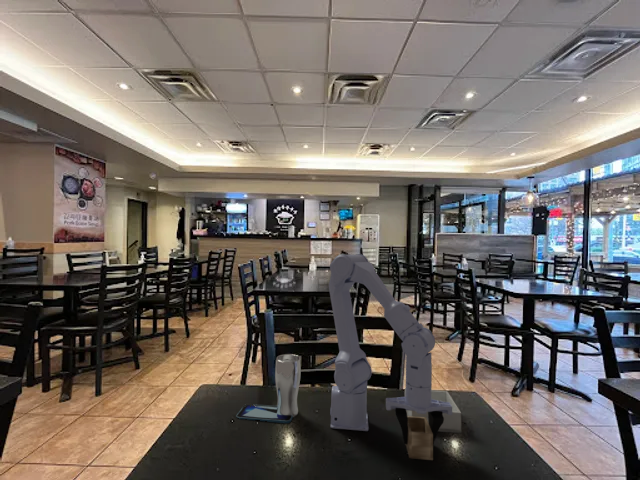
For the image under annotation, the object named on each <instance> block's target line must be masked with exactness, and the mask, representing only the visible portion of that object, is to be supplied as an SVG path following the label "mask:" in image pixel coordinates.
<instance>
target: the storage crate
mask: <svg viewBox="0 0 640 480" xmlns="http://www.w3.org/2000/svg"><path fill="white" fill-rule="evenodd" d="M405 392H406V387H405V388H404V393H405ZM431 399H433V400H438V401H443V402H450V404H451V405H452V415H448V414H447V413H443V417H444V422H443V424H442V425H441V427H440V428H439V430H438V432H443V433H454V434H462V412H461V410H460V408H459V407H458V406H457V404H456V403H455V401H454V399H453V397H452V396H451V395H450V393H449V391H447V390H433V389H432V394H431ZM406 412H407V416H415V417H426V419H427V421H428V412H426V414H418V413H417V412H416V411H411V410H406ZM428 424H429V422H428Z"/></svg>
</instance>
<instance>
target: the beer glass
mask: <svg viewBox="0 0 640 480" xmlns="http://www.w3.org/2000/svg"><path fill="white" fill-rule="evenodd" d="M274 370H275V372H274V376H275V378H274V381H275V386H276V387H275V388H276V394H277V404H276V406H277V409H276V413H277V414H278V415H280V416H292V415H293V418H295V417H297V415H298V414H299V407H298V393H299V389H300V388H299V387H300V384H301V383H300V381H301V372H302V370H301V357H300V356H299V355H296V354H293V353H285V354H280V355H278V356H277V357H276V362H275V369H274Z"/></svg>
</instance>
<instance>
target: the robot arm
mask: <svg viewBox="0 0 640 480" xmlns="http://www.w3.org/2000/svg"><path fill="white" fill-rule="evenodd" d="M329 269H330V277H329V282H328V291H329V296H330V303H331V308H332V314H333V320H334V326H335V327H334V328H335V331H336V337H337V345H338V351H339V353H338V354H337V357H336V358H335V361H334V367H335V370H334V373H333V378H334V382H335V385H332V387H331V399H330V400H331V401H330V402H331V403H330V408H329V409H330V412H329V413H330V414H329V415H330V428H331V429H337V430H351V431H360V432H362V431H363V432H368V431H369V417H368V412H367V411H368V410H367V408H368V407H367V403H368V402H367V397H368V394H367V393H368V390H367V389H368V381H369V380H370V379H371V376H372V374H373V373H372V372H373V371H372V366H371V364H370V363H369V361H368V358H367V355H366V352H364V350H362V349H361V348H360V341H359V336H358V331H357V325H356V321H355V314H354V309H353V304H352V303H353V302H352V298H351V297H352V296H351V293H350V292H351V291H350V290H351V289H352V287H353V286H354V284H355V283H357V284H362V285H364V286H365V287H366V289H367V290H368V291H369V292H370V294H371V295H372V296H373V297H374V298H375V299H376V301H378V303H379V304H380V305H381V306H382V308H383V310H384V312H383V317H384V319H386V321H387V323H388V324H389V325H390V326H391V328H392V329H393V331H394V332H395V334H397V336H398V338H399V339H400V340H401V341H402V342H401V349H402V351H403V352H404V354H405V388H406V392H405V391H404V396H400V397H386V398H385V409H386V410H387V411H392V410H394V412H395V415H396V419H397V421H398V423H399V426H400V428H401V432H402V440H403V443H404V445H406V444H407V443H408V438H407V424H408V417H407V416H408V415H407V412H406V410H411V411H416V412H417V413H418V414H426V412H428V422H429V426H430V428H431V431H432V433H433V446H434V445H435V440H436V438H437V434H438V432H439V431H438V430H439V428H440V427H441V425H442V424H443V422H444V417H443V413H447V414H448V415H452V405H451V404H450V402H443V401H438V400H433V399H431V394H432V390H433V389H432V387H433V386H432V385H433V383H432V381H433V378H432V375H433V373H432V372H433V371H432V370H433V368H432V367H433V364H432V355H433V354H432V350H434V348H435V345H436V339H435V336H434V334H433V333H432V331H431V329H430V328H427V327H426V326H425V327H424V324H422V322H419V321H418V319H417V318H416V317H415V316H414V314H413V313H412V312H411V307H410V306H409V304H405V303H404V302H402V301H397V300H396V299H395V298H394V296H393V294H392V293H391V292H390V291H389V289H388V288H387V286H386V285H385V283H384V282H383V280H382V279H381V278H380V276H379V275H378V273H377V272H376V270H375V267H374V265H373V263H372V262H370V261H369V259H368V258H367V256H366V255H364V254H362V253H358V254H357V253H356V254H345V253H342V254H341V253H340V254H337V255H336V256H335V257H334V259H333V260H332V261H331V262H330V264H329Z"/></svg>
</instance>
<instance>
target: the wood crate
mask: <svg viewBox="0 0 640 480" xmlns="http://www.w3.org/2000/svg"><path fill="white" fill-rule="evenodd" d="M407 417H408V424H407V438H408V443H407V444H405V447H406V452H407V454H408V458H409V459H413V460H414V459H416V460H426V461H433V460H434V445H433V433H432V431H431V428H430V426H429V424H428V421H427V419H426V417H415V416H408V415H407Z"/></svg>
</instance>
